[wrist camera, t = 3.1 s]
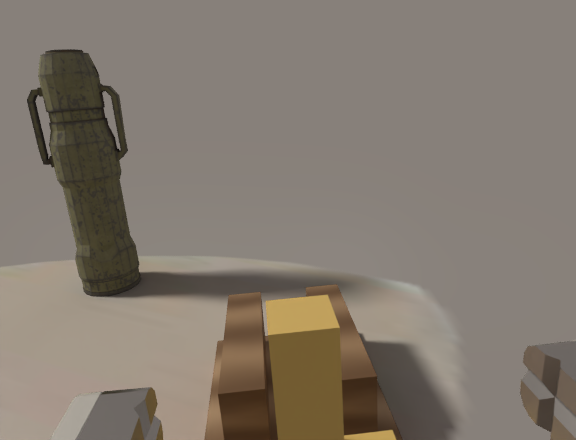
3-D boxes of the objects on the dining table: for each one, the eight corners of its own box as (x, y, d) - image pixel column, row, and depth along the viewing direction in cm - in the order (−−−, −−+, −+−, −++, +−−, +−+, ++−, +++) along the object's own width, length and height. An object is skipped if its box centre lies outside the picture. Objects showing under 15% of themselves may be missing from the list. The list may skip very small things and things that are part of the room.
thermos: (153, 286, 67) (111, 46, 57) (71, 304, 63) (8, 49, 53) (149, 266, 75) (110, 52, 65) (75, 281, 71) (21, 56, 61)
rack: (406, 456, 34) (407, 381, 32) (201, 482, 33) (188, 406, 31) (354, 332, 51) (352, 278, 49) (218, 347, 50) (211, 292, 48)
